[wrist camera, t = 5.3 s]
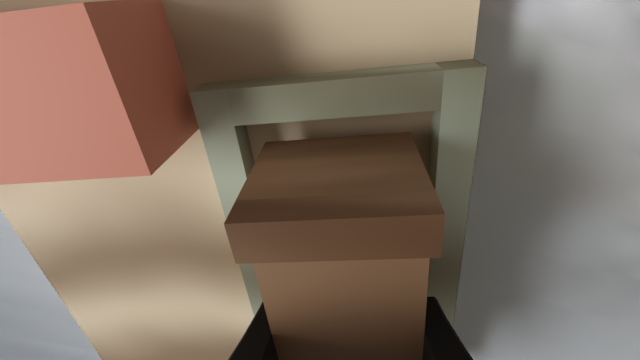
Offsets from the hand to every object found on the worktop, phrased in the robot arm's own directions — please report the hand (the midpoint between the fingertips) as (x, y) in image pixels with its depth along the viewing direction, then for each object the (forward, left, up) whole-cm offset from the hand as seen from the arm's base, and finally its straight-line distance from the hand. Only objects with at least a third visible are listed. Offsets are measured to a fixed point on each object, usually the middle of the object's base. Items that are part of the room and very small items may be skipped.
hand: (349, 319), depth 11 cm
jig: (0, +5, -4) cm, 6 cm away
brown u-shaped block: (0, 0, -2) cm, 2 cm away
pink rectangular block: (+8, +8, -2) cm, 12 cm away
